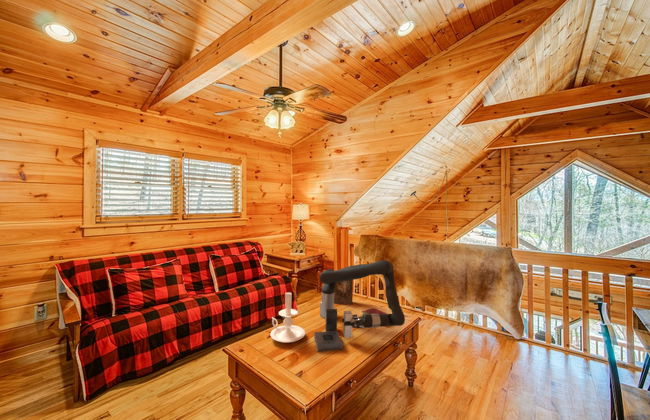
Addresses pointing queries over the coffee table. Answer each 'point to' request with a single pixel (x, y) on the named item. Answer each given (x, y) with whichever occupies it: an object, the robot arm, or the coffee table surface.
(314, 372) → the coffee table surface
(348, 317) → the square bit
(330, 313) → the block
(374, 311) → the hardcover book
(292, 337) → the candlestick
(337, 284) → the book
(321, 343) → the bore plate
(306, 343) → the coffee table surface
